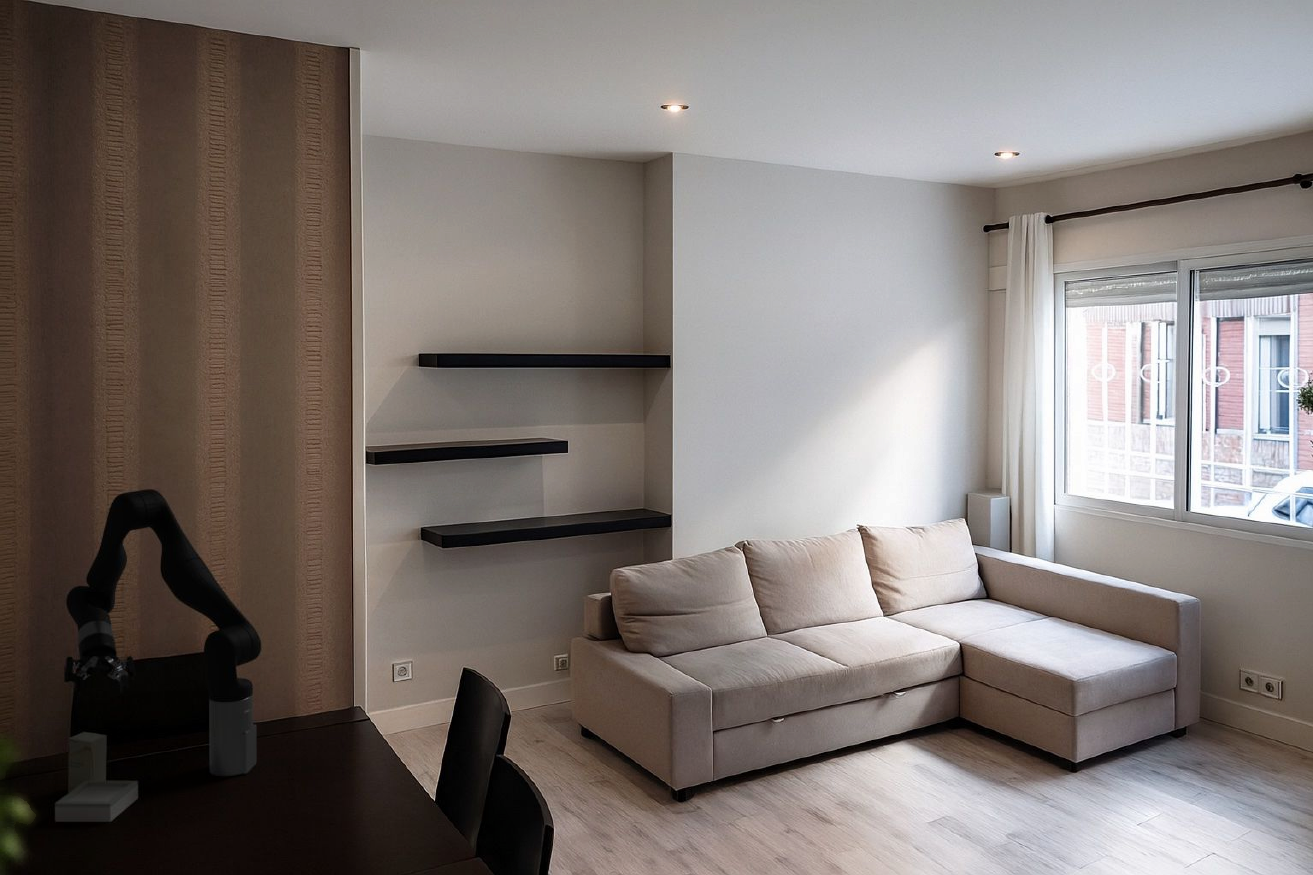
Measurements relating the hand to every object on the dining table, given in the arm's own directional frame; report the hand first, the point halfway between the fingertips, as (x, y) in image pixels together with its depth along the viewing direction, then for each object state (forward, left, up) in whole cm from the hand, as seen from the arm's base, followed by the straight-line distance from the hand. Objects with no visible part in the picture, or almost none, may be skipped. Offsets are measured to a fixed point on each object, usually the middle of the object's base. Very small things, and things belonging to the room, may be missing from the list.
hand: (102, 691), depth 215 cm
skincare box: (-2, +10, -19) cm, 22 cm away
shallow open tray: (-9, +19, -19) cm, 28 cm away
